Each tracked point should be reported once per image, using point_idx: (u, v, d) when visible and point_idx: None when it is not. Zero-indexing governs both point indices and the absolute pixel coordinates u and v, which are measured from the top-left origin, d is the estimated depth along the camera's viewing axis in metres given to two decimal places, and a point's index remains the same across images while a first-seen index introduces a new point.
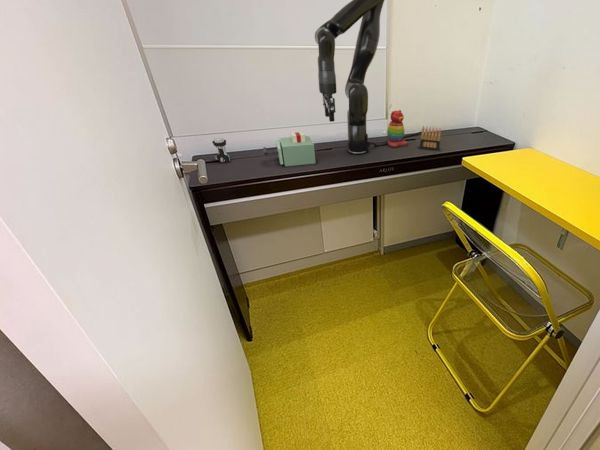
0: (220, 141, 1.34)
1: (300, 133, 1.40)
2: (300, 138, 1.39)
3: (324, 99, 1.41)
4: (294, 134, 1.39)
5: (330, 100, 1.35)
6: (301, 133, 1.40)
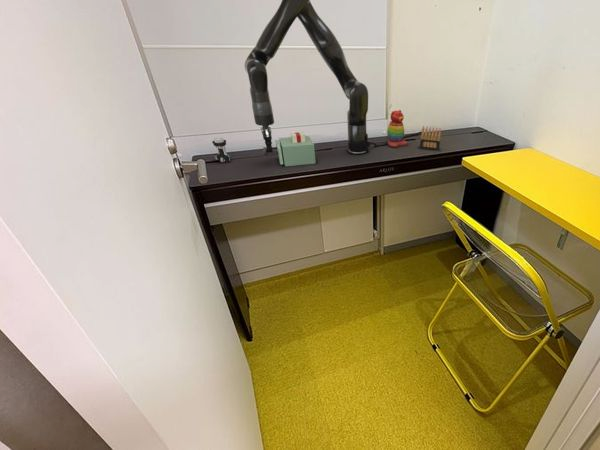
0: (220, 141, 1.34)
1: (300, 133, 1.40)
2: (300, 138, 1.39)
3: None
4: (294, 134, 1.39)
5: (266, 138, 1.30)
6: (301, 133, 1.40)
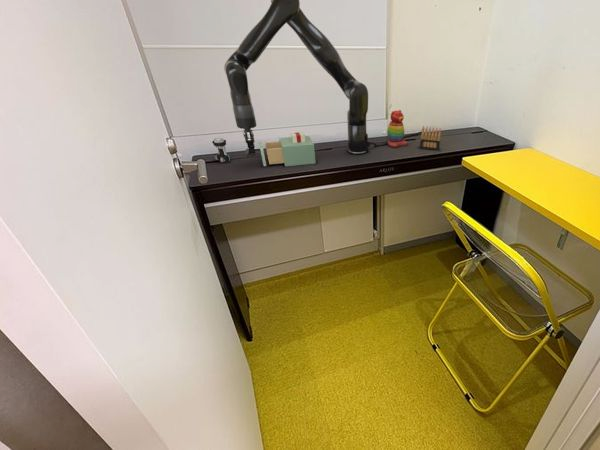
0: (220, 141, 1.34)
1: (300, 133, 1.40)
2: (300, 138, 1.39)
3: None
4: (294, 134, 1.39)
5: (248, 141, 1.27)
6: (301, 133, 1.40)
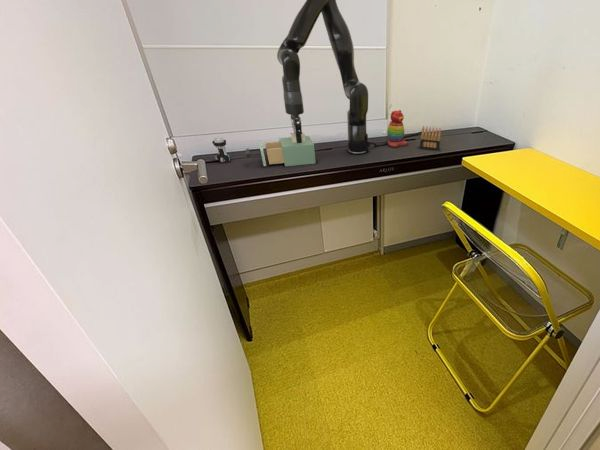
0: (220, 141, 1.34)
1: None
2: None
3: None
4: (294, 134, 1.39)
5: (296, 124, 1.31)
6: None
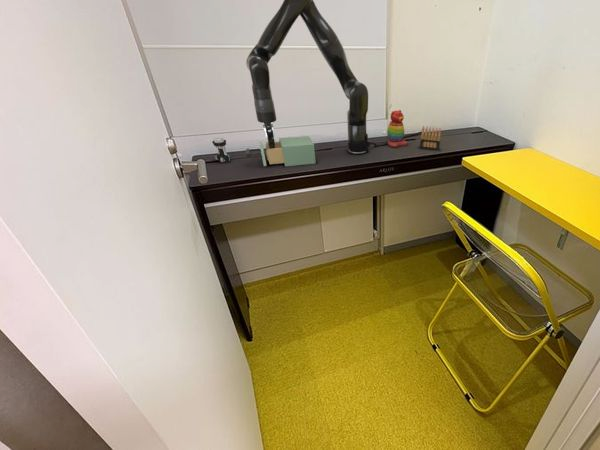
0: (220, 141, 1.34)
1: None
2: None
3: (264, 127, 1.33)
4: None
5: (268, 132, 1.28)
6: None
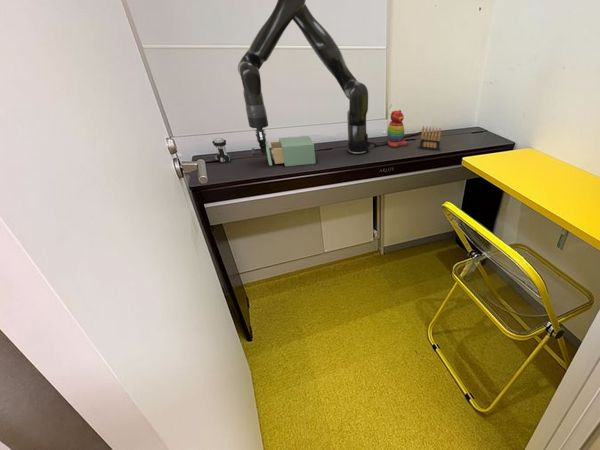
0: (220, 141, 1.34)
1: None
2: None
3: None
4: None
5: (260, 140, 1.29)
6: None
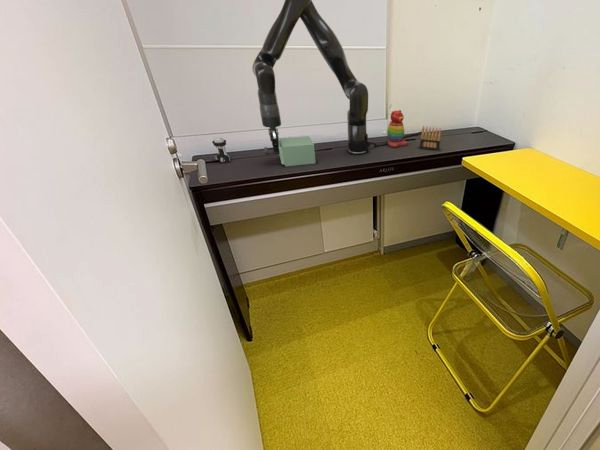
0: (220, 141, 1.34)
1: None
2: None
3: None
4: None
5: (273, 139, 1.31)
6: None
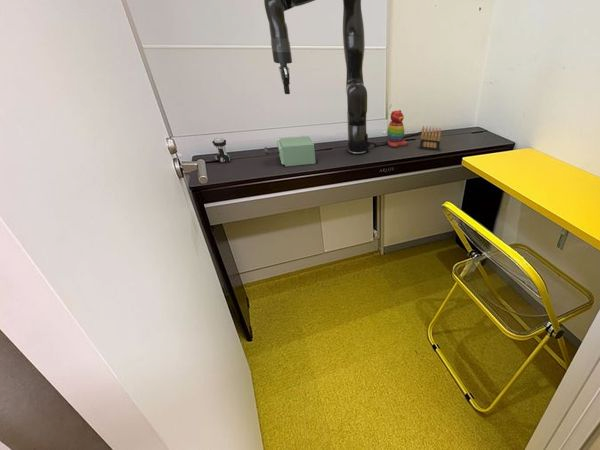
0: (220, 141, 1.34)
1: None
2: None
3: None
4: None
5: (284, 75, 1.31)
6: None
